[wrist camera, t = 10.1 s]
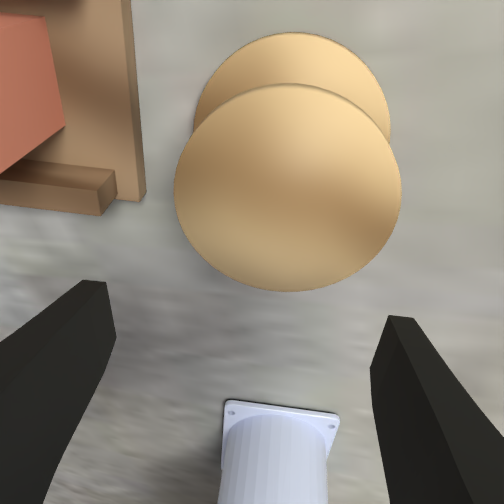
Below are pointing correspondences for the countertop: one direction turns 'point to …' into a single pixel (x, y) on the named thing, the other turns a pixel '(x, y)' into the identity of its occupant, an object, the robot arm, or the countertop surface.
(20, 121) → the pink rectangular block
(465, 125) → the countertop surface
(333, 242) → the bobbin
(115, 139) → the notch board
